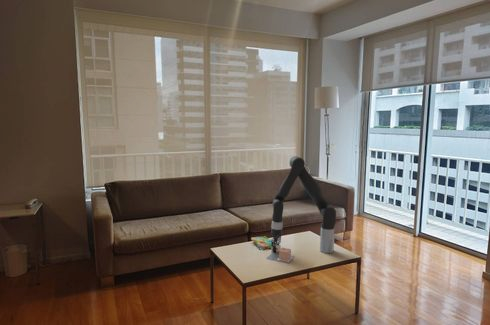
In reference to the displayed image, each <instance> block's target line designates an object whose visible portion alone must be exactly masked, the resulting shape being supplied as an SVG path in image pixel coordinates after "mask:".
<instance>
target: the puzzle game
mask: <svg viewBox="0 0 490 325" xmlns="http://www.w3.org/2000/svg"><path fill="white" fill-rule="evenodd" d="M250 239H251V241H253V244H254V245H255V246H257V247H258V249H260V250H266V249H267V250H268V249H271V246H272V245H271V239H270V238H269V237H267V236H266V235H262V236H255V237H251V238H250Z"/></svg>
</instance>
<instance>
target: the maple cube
mask: <svg viewBox="0 0 490 325" xmlns="http://www.w3.org/2000/svg"><path fill="white" fill-rule="evenodd" d="M281 248H282V246H281V245H280V244H279V245H277V246H276V253H279V250H280V249H281ZM270 250H271V252H272V253H273V247H272V246H271V248H270Z"/></svg>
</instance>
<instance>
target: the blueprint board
mask: <svg viewBox="0 0 490 325" xmlns="http://www.w3.org/2000/svg"><path fill="white" fill-rule="evenodd" d="M295 257H296V256H295V255H291V258H290V259H289V260H288V261H286V260H281V259H279V252H278V253H275V252H272V253H270V254H269V255H268V256H267V257H266V258H265V259H266V260H269V261H275V262H278V263H283V264H287V265H289V264H291V262H292V261H293V260H294V259H295Z"/></svg>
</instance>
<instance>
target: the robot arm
mask: <svg viewBox="0 0 490 325" xmlns="http://www.w3.org/2000/svg"><path fill="white" fill-rule="evenodd" d="M289 159H290V160H289V166H290V170H289V172H288V175H287V176H286V178H284V181H283V182H282V183H281V185H280V187H279V190H278V192H277V194H276V195H275V197H274V198H273V200H272V203H271V204H272V207H273V208H272V209H273V210H272V211H273V213H272V216H271V217H272V218H271V220H272V221H271V227H270V228H271V230H270V231H271V232H270V233H271V235H272V236H273V237H272V238H271V239H270V240H271V245H272V247H273V252H275V253H276V246H277V245H280V244H281V243H282V242H281V241H282V234H283V214H284V213H283V212H284V201H285V199H286V198H288V196H289V194H290V192H291V190H292V188H293V185H294V184H295V182H296V180H297V179H298V178H299V180H300V182H301V185H302V186H303V188H304V189H305V190H306V193H307V194H308V195H309V197H310V198H311V199H312V202H314V203H315V205H316V208H317V209H318V212H319V213H320V215H321V216H322V222H321V223H320V242H319V251H320V252H322V253H325V254H333V253H334V251H335V225H336V219H337V211H336V209H335V208H334V207H333V206H332V205H330V204H329V203H328V202H327V200H326V198H324V195H323V192H322V189H321V187H320V186H319V183H318V182H317V181H316V179H315V178H314V177H313V176H312V175H311V174H310V173H309V171H308V170H307V169H306V166H305V165H306V162H305V160H304V159H303V158H302V157H300V156H296V155H295V156H292V157H291V158H289ZM273 252H272V253H273Z"/></svg>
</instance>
